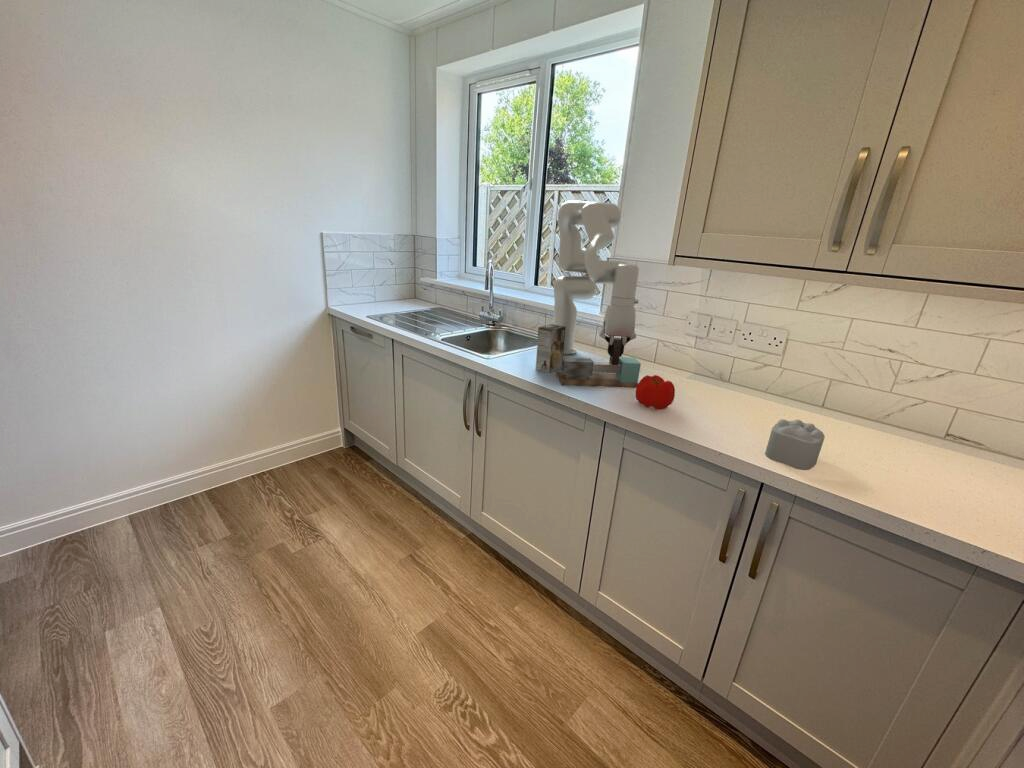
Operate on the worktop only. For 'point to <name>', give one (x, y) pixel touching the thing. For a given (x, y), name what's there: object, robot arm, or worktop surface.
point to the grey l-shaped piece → (613, 364)
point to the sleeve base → (596, 381)
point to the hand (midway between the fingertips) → (614, 355)
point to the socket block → (629, 370)
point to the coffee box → (550, 347)
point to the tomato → (655, 392)
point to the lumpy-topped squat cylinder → (795, 444)
